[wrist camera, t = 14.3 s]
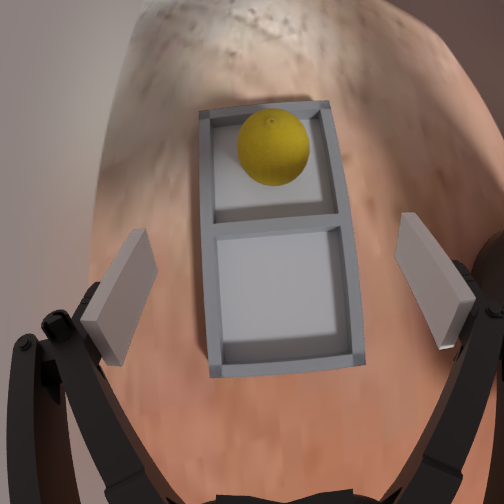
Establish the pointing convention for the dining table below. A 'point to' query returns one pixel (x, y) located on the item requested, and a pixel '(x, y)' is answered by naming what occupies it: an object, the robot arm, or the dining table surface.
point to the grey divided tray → (277, 254)
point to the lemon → (273, 147)
